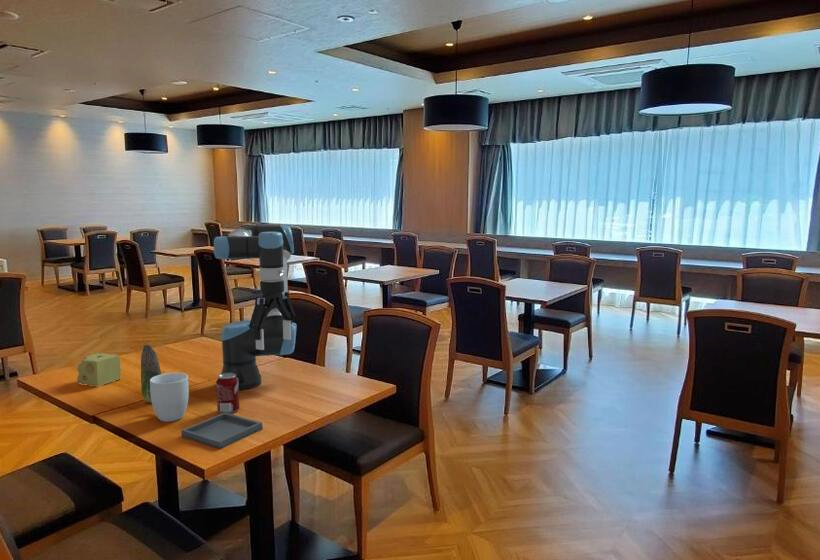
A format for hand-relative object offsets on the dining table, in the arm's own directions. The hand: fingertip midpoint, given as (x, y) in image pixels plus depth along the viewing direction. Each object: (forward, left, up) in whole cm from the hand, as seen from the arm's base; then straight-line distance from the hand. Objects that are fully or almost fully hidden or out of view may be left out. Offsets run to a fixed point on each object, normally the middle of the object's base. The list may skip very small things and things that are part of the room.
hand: (274, 344), depth 184 cm
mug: (-22, -24, -21) cm, 39 cm away
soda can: (-10, -11, -21) cm, 26 cm away
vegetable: (-39, -18, -21) cm, 48 cm away
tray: (+2, -24, -21) cm, 32 cm away
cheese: (-74, -15, -21) cm, 79 cm away
